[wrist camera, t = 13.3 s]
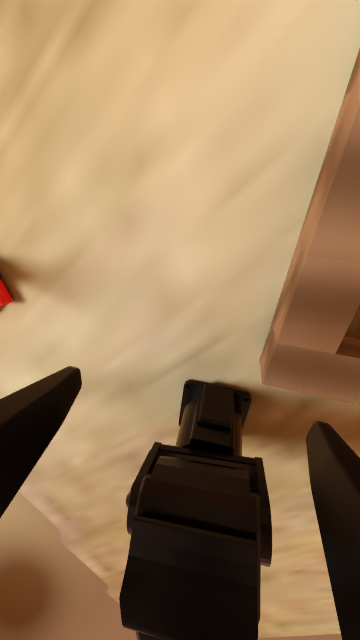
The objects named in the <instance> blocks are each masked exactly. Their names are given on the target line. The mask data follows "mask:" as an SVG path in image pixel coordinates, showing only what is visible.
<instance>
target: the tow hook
mask: <svg viewBox="0 0 360 640" xmlns="http://www.w3.org/2000/svg"><path fill="white" fill-rule="evenodd" d="M12 301H13V300H12V298H11V296H10V294H9V293H8V291H7V289H6V287H5V286H4V284H3V282H2V280H1V276H0V306H3V305H6V304H8V303H10V302H12Z"/></svg>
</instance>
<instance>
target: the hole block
mask: <svg viewBox="0 0 360 640" xmlns="http://www.w3.org/2000/svg"><path fill="white" fill-rule="evenodd" d="M359 305H360V50H359V53H358V56H357V59H356V62H355V65H354V68H353V71H352V74H351V78H350V81H349V84H348V87H347V90H346V93H345V96H344V99H343V103H342V106H341V109H340V112H339V115H338V118H337V121H336V124H335V127H334V131H333V134H332V137H331V140H330V143H329V146H328V149H327V152H326V156H325V159H324V162H323V165H322V168H321V171H320V174H319V177H318V180H317V184H316V187H315V190H314V193H313V196H312V199H311V202H310V205H309V209H308V212H307V215H306V218H305V221H304V224H303V227H302V230H301V233H300V237H299V240H298V243H297V246H296V249H295V252H294V255H293V258H292V262H291V265H290V268H289V271H288V274H287V277H286V280H285V283H284V286H283V290H282V293H281V296H280V299H279V302H278V305H277V308H276V311H275V315H274V318H273V321H272V324H271V327H270V330H269V333H268V336H267V339H266V343H265V346H264V349H263V352H262V355H261V358H260V368H261V376H262V384H264V385H269V386H274V387H279V388H283V389H288V390H293V391H298V392H302V393H307V394H312V395H317V396H321V397H326V398H331V399H336V400H340V401H345V402H350V403H355V404H359V405H360V338H354V337H349V336H344V335H345V333H346V331H347V329H348V327H349V325H350V323H351V321H352V319H353V317H354V315H355V313H356V311H357V309H358V307H359Z"/></svg>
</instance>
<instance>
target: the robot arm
mask: <svg viewBox="0 0 360 640" xmlns="http://www.w3.org/2000/svg"><path fill="white" fill-rule="evenodd" d="M188 385H190V386H188ZM81 386H82V380H81V373H80V369H79V368H76V367H72V366H69V367H66V368H64V369H62V370H60V371H58V372H56V373H54V374H52V375H50V376H47V377H45V378H43V379H41V380H39V381H37V382H35V383H33V384H31V385H29V386H27V387H25V388H22V389H20V390H18V391H16V392H14V393H12V394H10V395H8V396H6V397H4V398H2V399H0V518H1V516H2V515H3V513H4V512H5V510H6V509H7V507H8V506H9V504H10V502H11V501H12V500H13V498H14V497H15V495H16V493H17V492H18V490H19V489H20V487H21V486H22V484H23V483H24V481H25V480H26V478H27V477H28V475H29V474H30V472H31V471H32V469H33V468H34V466H35V465H36V463H37V462H38V460H39V459H40V457H41V456H42V454H43V453H44V451H45V449H46V448H47V446H48V445H49V443H50V442H51V440H52V439H53V437H54V436H55V434H56V433H57V431H58V430H59V428H60V427H61V425H62V423H63V422H64V420H65V418H66V416H67V414H68V412H69V410H70V408H71V406H72V405H73V403H74V401H75V399H76V397H77V395H78V393H79V391H80V389H81ZM250 403H251V395H250V394H249V393H246V392H242V391H237V390H233V389H228V388H223V387H219V386H214V385H209V384H205V383H200V382H196V381H191V380H187V381H186V382H185V384H184V389H183V396H182V403H181V410H180V417H179V426H180V429H179V434H178V438H177V442H176V446H171V445H164V444H162V443H159V442H155V443H154V445H153V447H152V449H151V450H150V451H149V453H148V455H147V457H146V459H145V461H144V463H143V465H142V467H141V469H140V471H139V473H138V475H137V477H136V479H135V481H134V483H133V485H132V487H131V491H130V492H129V493H128V495H127V498H126V505H127V507H128V514H127V531H128V533H129V534H130V535H131V541H130V548H129V554H128V560H127V565H126V570H125V574H124V579H123V583H122V588H121V592H120V609H121V618H122V625H123V627H125V628H128V629H131V630H134V631H136V635H137V639H138V640H257V639H258V623H259V620H260V565H264V566H268V567H270V564H271V557H272V523H271V511H270V503H269V496H268V491H267V485H266V479H265V473H264V467H263V461H262V458H258V457H255V458H250V457H243V456H242V427H243V424H244V421H245V418H246V415H247V412H248V409H249V406H250ZM306 444H307V454H308V464H309V475H310V484H311V490H312V495H313V500H314V505H315V510H316V515H317V520H318V524H319V529H320V534H321V539H322V544H323V549H324V553H325V558H326V563H327V568H328V573H329V578H330V582H331V587H332V592H333V597H334V602H335V607H336V611H337V616H338V621H339V626H340V631H341V636H342V640H360V458H359V457H358V456H357V455H356V453H355V452H354V451H353V450H352V449H351V448H350V447H349V446H348V445H347V443H346V442H345V441H344V440H343V439H342V438H341V437H340V436H339V435H338V433H337V432H336V431H335V430H334V429H333V428H332V427H331V426H330V425H329V424H328V423H324V422H320V421H315V422H314V424H313V425H312V427H311V429H310V431H309V433H308V435H307V438H306Z"/></svg>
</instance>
